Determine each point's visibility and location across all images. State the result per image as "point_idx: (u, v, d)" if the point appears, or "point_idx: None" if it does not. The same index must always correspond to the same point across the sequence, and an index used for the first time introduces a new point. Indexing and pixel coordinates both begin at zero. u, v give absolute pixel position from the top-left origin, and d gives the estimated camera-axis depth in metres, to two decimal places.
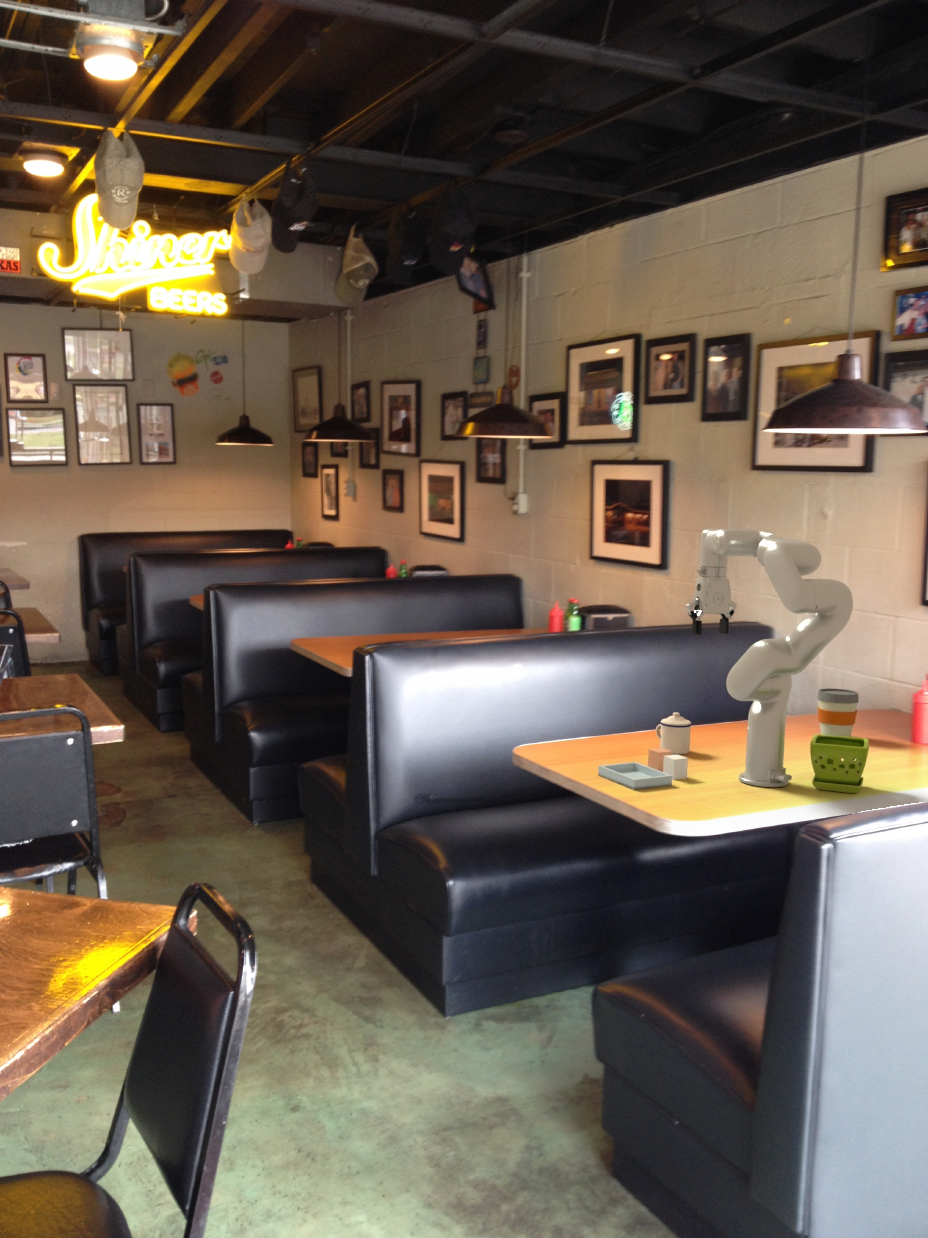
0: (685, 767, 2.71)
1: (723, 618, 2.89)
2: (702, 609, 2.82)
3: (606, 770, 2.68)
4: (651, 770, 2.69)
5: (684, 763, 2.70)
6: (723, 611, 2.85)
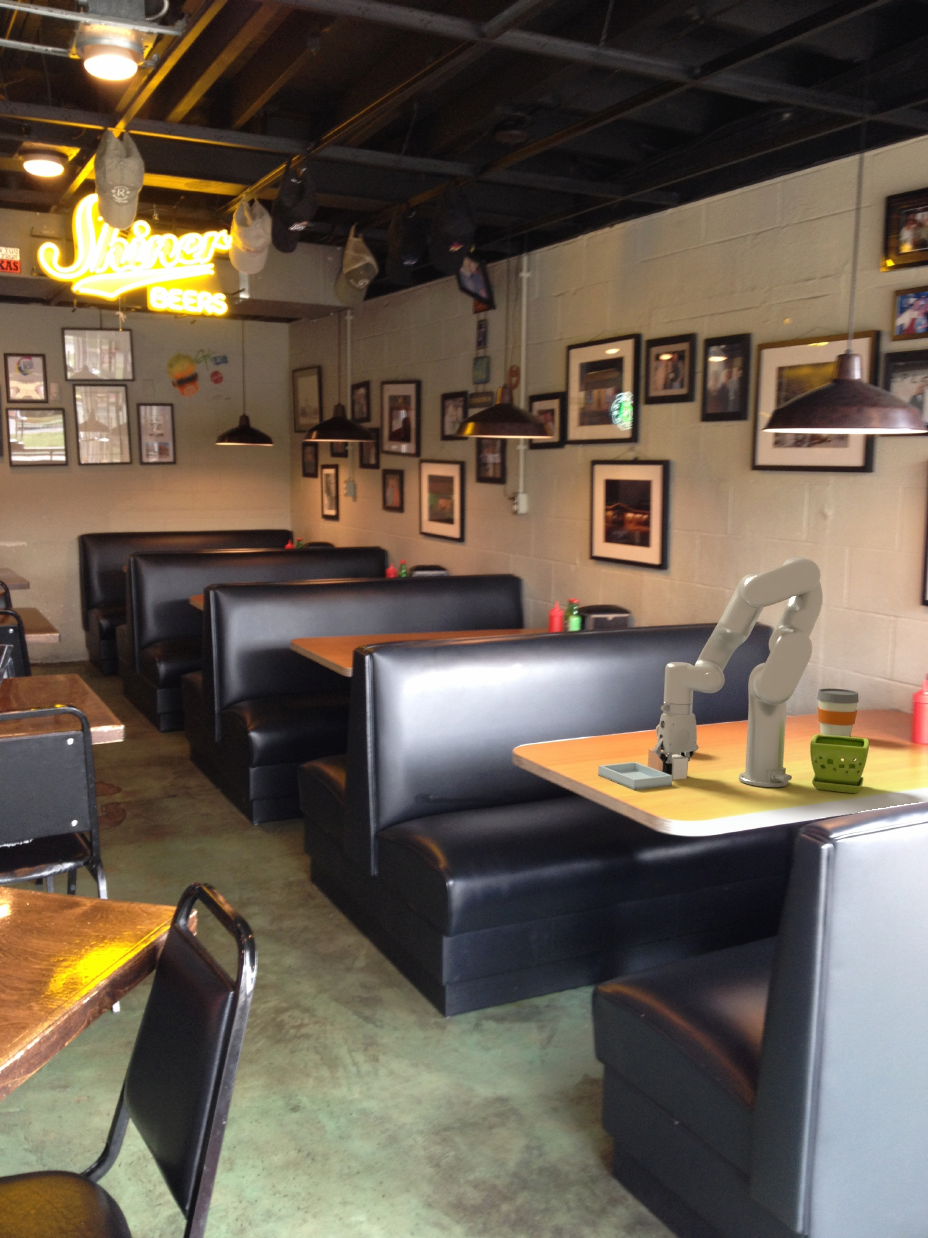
0: (685, 767, 2.71)
1: None
2: (666, 748, 2.67)
3: (606, 770, 2.68)
4: (651, 770, 2.69)
5: (684, 763, 2.70)
6: (688, 749, 2.70)
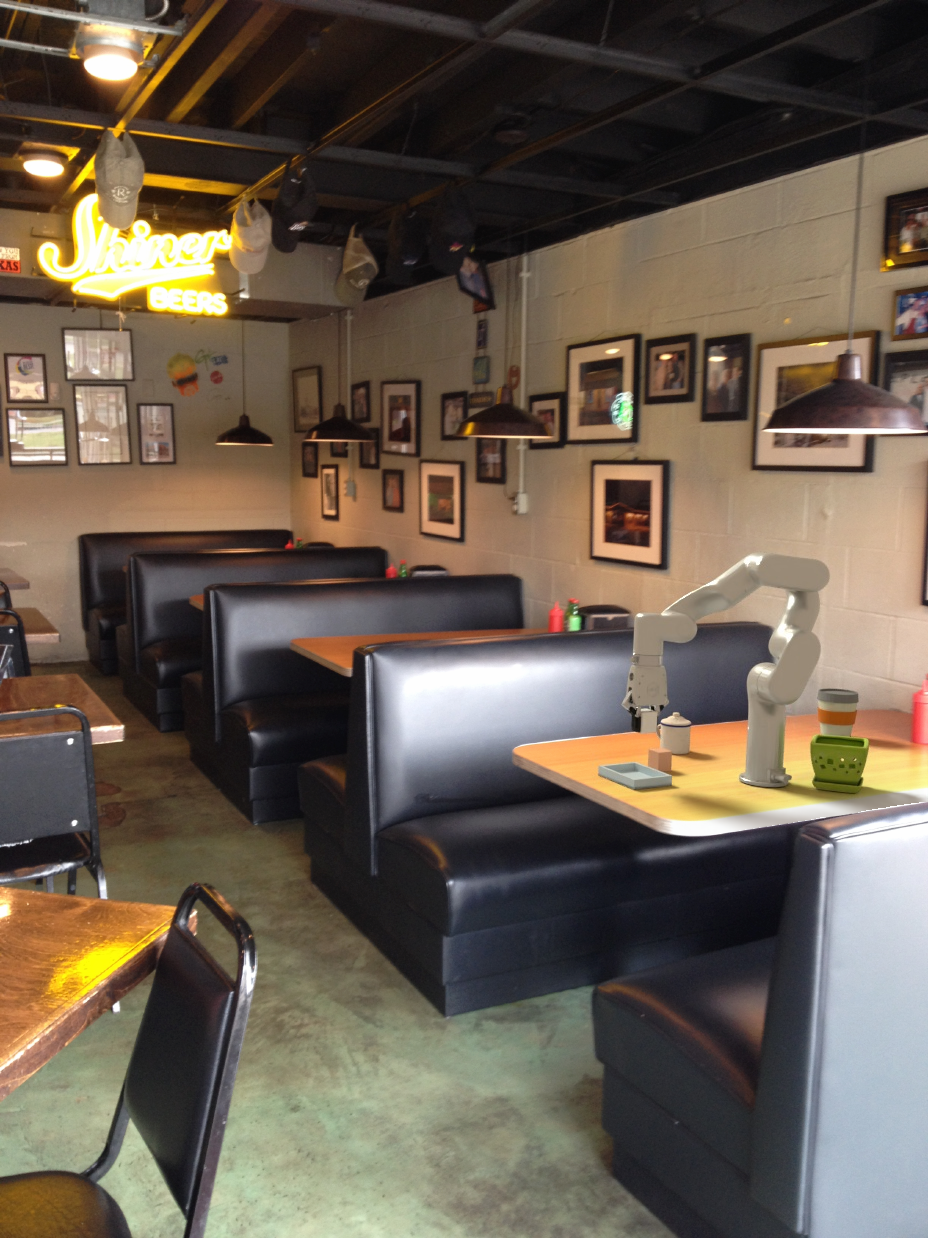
0: (654, 721, 2.62)
1: None
2: (634, 701, 2.58)
3: (606, 770, 2.68)
4: (651, 770, 2.69)
5: (653, 717, 2.61)
6: (658, 702, 2.61)
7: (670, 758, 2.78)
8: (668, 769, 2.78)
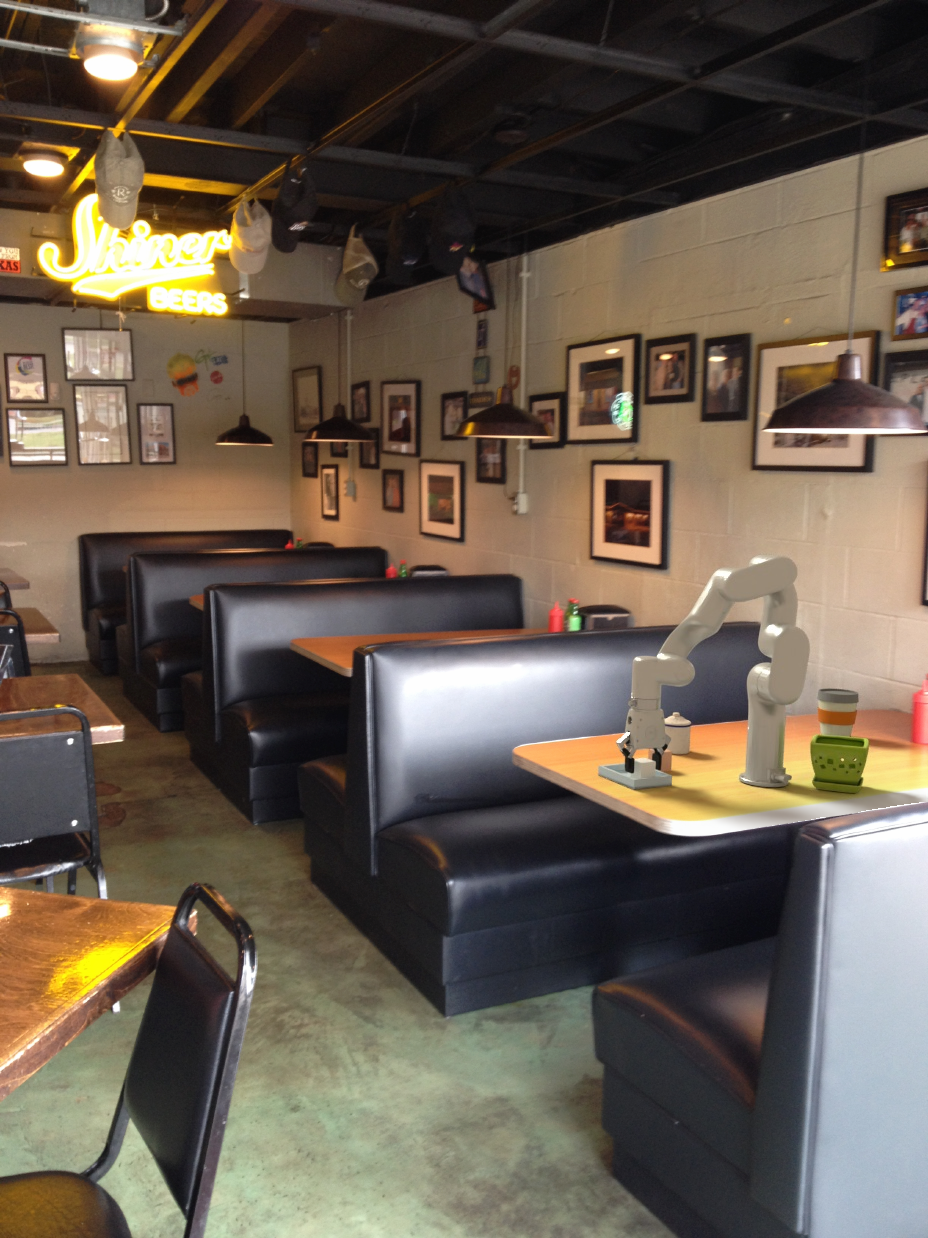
0: (653, 771, 2.63)
1: (655, 753, 2.66)
2: (633, 745, 2.59)
3: (606, 770, 2.68)
4: None
5: (652, 767, 2.63)
6: (656, 746, 2.62)
7: (670, 758, 2.78)
8: (668, 769, 2.78)
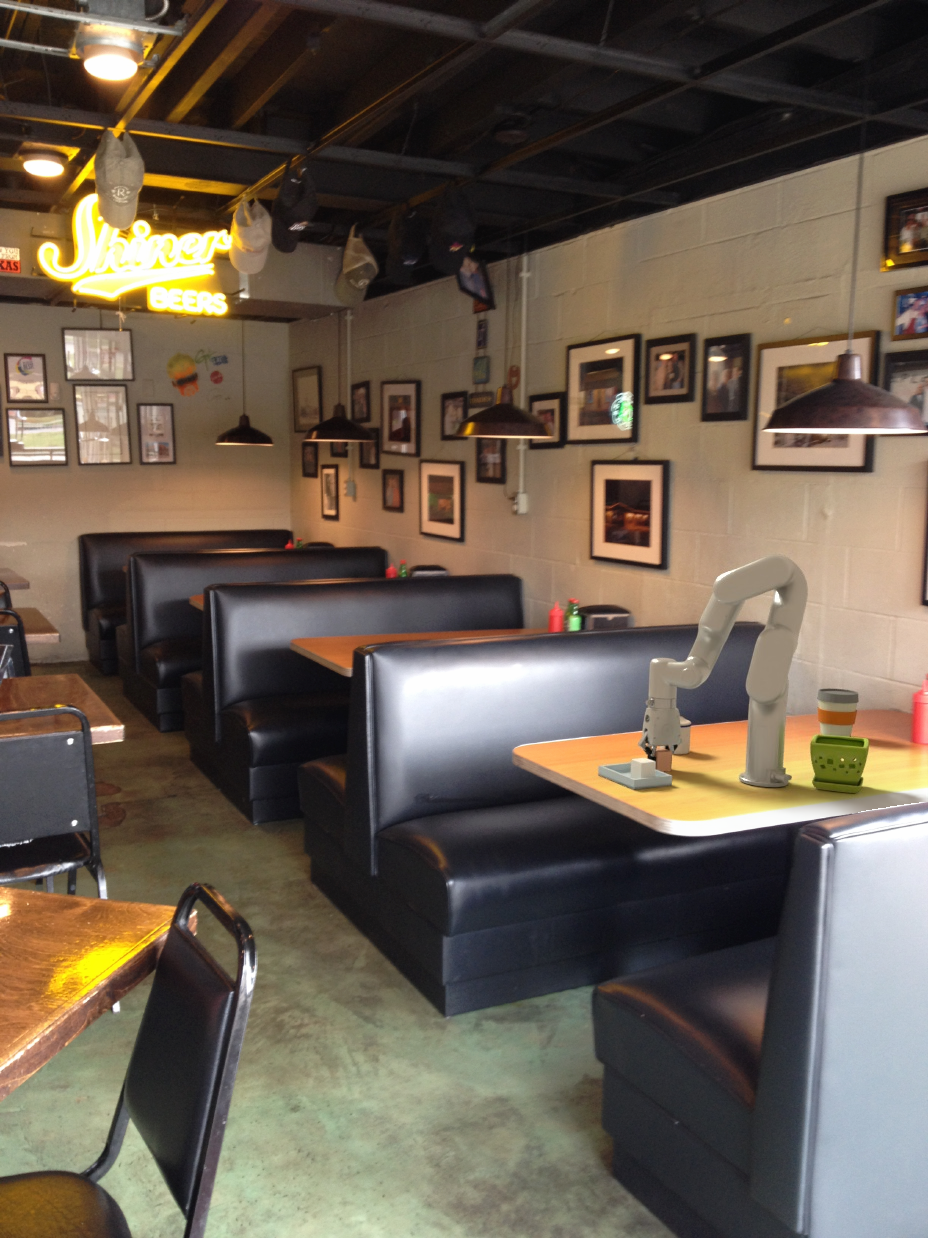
0: (653, 771, 2.63)
1: None
2: (650, 742, 2.75)
3: (606, 770, 2.68)
4: None
5: (652, 767, 2.63)
6: (672, 743, 2.77)
7: (670, 758, 2.78)
8: (668, 769, 2.78)
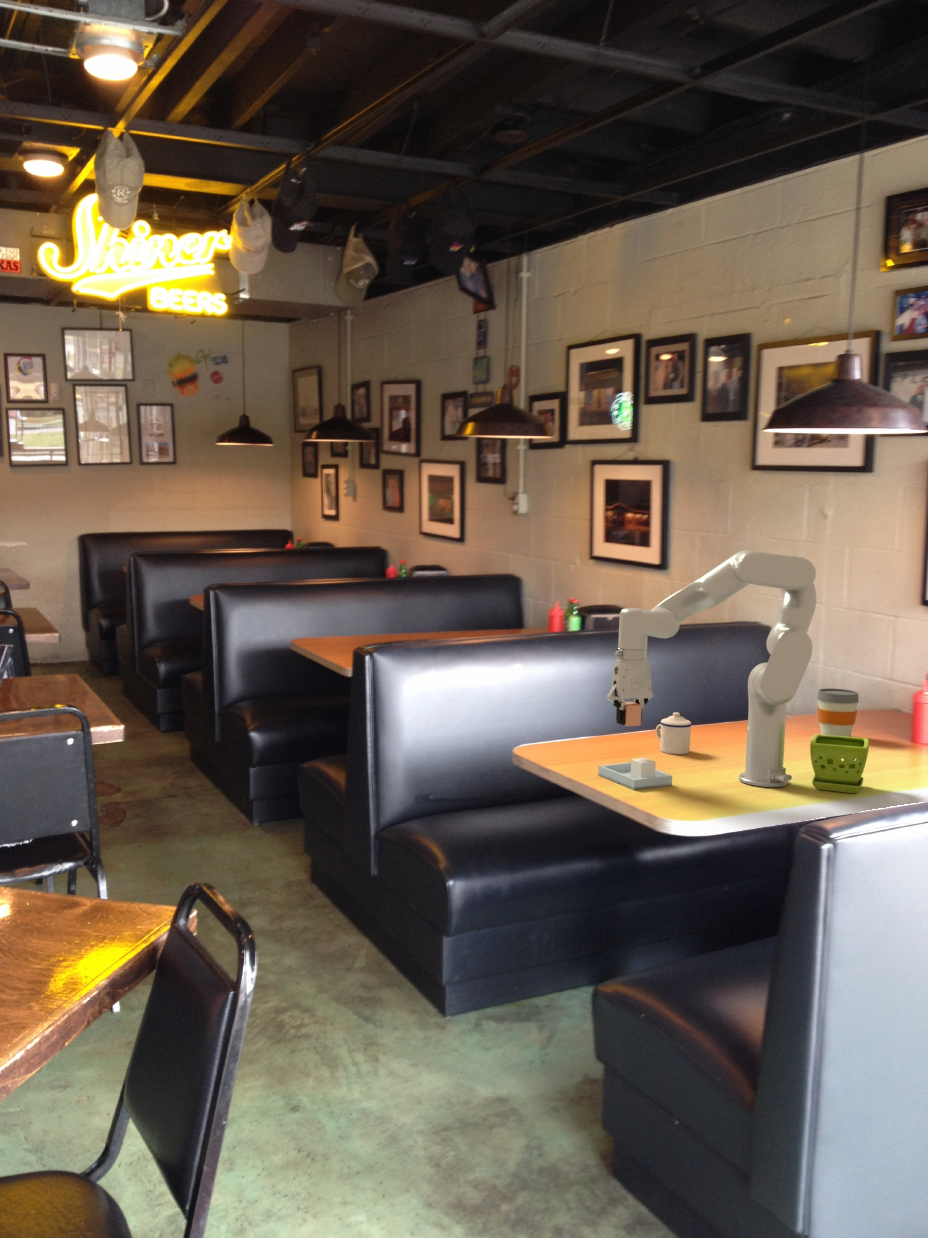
0: (653, 771, 2.63)
1: None
2: (619, 694, 2.65)
3: (606, 770, 2.68)
4: None
5: (652, 767, 2.63)
6: (642, 696, 2.67)
7: (640, 712, 2.68)
8: (637, 723, 2.68)
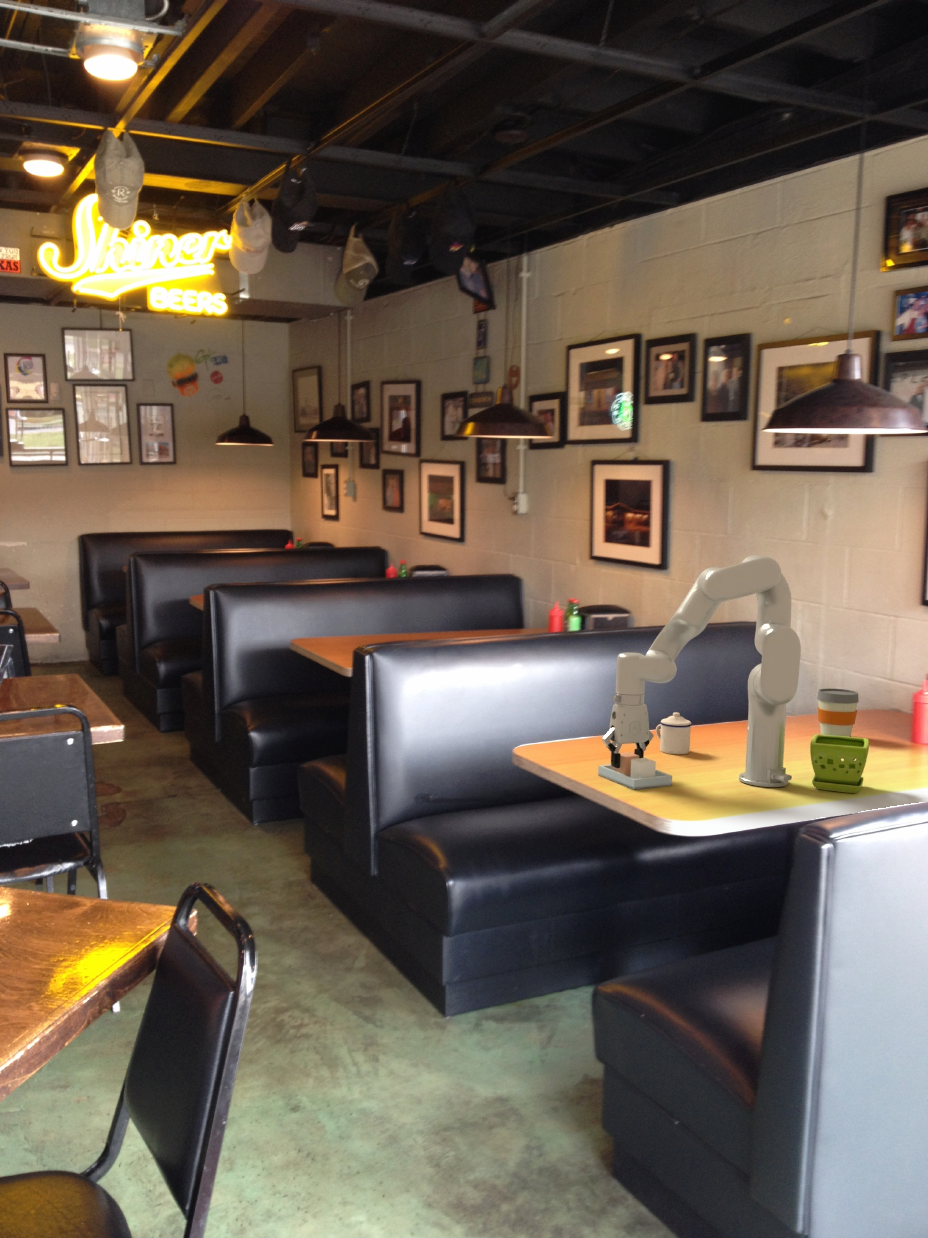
0: (653, 771, 2.63)
1: (637, 748, 2.72)
2: (617, 739, 2.66)
3: (606, 770, 2.68)
4: None
5: (652, 767, 2.63)
6: (640, 740, 2.68)
7: None
8: None
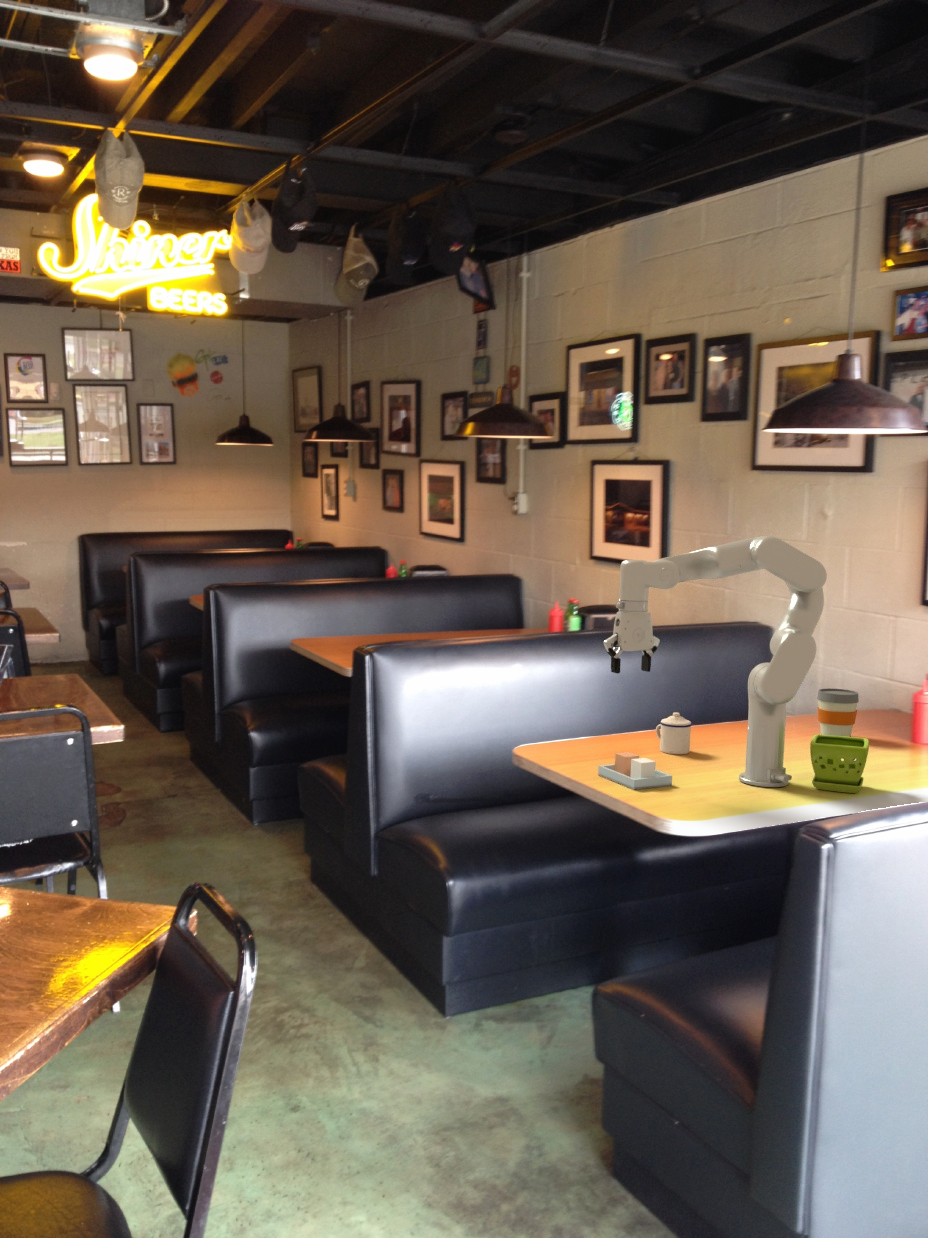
0: (653, 771, 2.63)
1: (645, 655, 2.70)
2: (621, 646, 2.63)
3: (606, 770, 2.68)
4: None
5: (652, 767, 2.63)
6: (644, 648, 2.66)
7: None
8: None
